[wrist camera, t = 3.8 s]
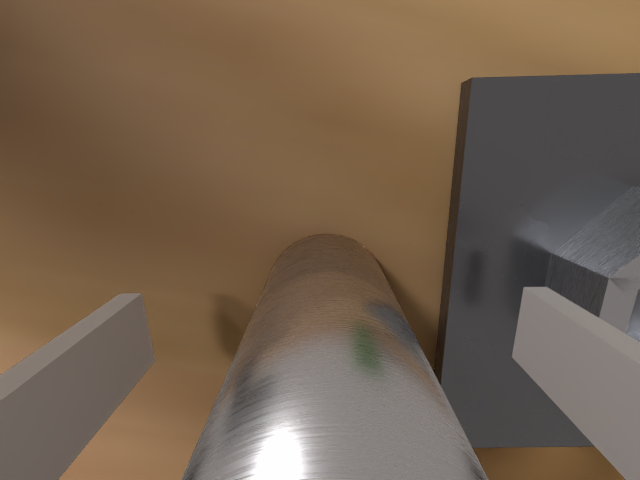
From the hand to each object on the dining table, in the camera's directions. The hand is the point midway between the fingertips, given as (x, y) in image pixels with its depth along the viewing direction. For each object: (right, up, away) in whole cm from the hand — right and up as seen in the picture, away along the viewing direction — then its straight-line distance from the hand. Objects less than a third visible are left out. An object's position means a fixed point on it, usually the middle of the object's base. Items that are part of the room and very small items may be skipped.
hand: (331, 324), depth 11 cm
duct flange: (+13, +1, +2) cm, 13 cm away
